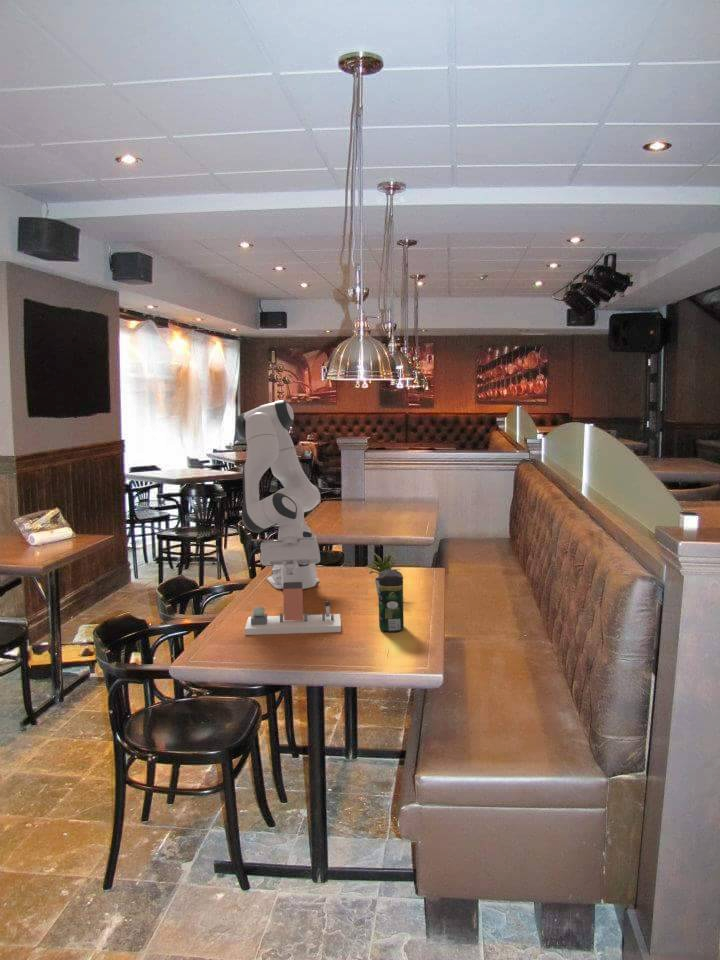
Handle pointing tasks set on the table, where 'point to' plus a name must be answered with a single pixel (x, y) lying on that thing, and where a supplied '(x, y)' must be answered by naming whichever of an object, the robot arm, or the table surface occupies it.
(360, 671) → the table surface
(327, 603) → the toggle lever
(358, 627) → the table surface
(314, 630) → the control panel
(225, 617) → the table surface
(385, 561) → the house plant
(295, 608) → the paddle
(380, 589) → the coffee jar
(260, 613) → the push button
